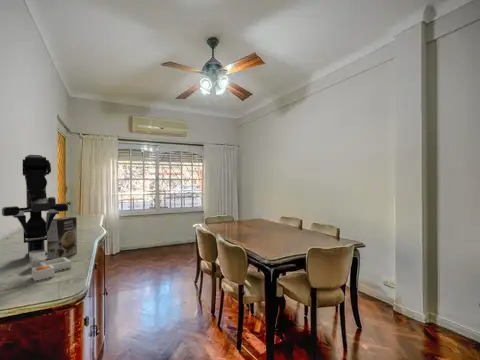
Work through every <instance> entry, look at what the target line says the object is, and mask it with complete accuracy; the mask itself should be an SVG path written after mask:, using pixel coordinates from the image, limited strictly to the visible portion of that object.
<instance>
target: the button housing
mask: <svg viewBox="0 0 480 360" xmlns="http://www.w3.org/2000/svg"><path fill="white" fill-rule="evenodd" d="M48 266H49V268H48V269H43V270H38V271H37V267H35V268H32V270H31V278H32V279H33V280H34V282H38V281H42V280H45V278H46V279H49V277H51V278H54V276H55V275H56V274H55V272H56V271H55V270H54V267H53V266H52V265H51V264H50V265H48ZM41 279H42V280H41ZM37 280H38V281H37Z"/></svg>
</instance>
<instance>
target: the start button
mask: <svg viewBox="0 0 480 360" xmlns="http://www.w3.org/2000/svg"><path fill="white" fill-rule="evenodd" d="M48 268H49V266H48V265H44V266H39V267H37V271H38V270H43V269H48Z"/></svg>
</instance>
